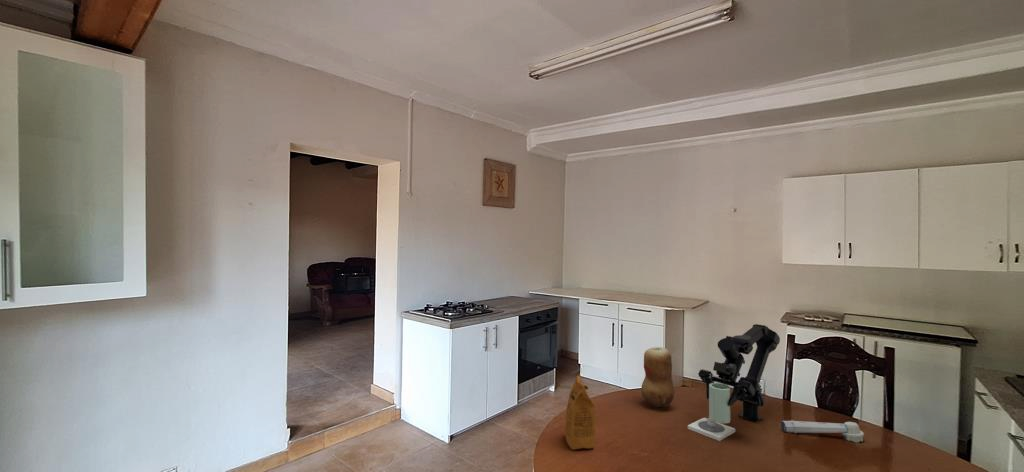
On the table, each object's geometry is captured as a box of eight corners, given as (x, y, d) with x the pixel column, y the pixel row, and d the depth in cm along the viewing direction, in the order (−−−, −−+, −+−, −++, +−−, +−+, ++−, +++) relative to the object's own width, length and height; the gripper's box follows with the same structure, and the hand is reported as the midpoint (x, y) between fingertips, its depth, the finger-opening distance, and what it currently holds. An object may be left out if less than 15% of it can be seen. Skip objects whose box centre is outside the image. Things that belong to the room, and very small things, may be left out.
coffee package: (590, 434, 150) (591, 374, 151) (597, 451, 138) (598, 386, 138) (563, 433, 150) (564, 373, 151) (567, 451, 138) (568, 385, 138)
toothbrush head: (779, 418, 158) (857, 417, 150) (782, 435, 157) (860, 436, 150) (784, 423, 153) (864, 423, 145) (787, 442, 152) (867, 442, 145)
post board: (703, 420, 163) (703, 408, 163) (735, 431, 154) (735, 418, 154) (687, 428, 156) (687, 415, 156) (719, 441, 146) (719, 427, 146)
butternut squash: (635, 401, 182) (636, 344, 182) (662, 398, 185) (662, 343, 186) (653, 414, 169) (653, 353, 169) (682, 411, 172) (682, 351, 172)
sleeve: (720, 414, 155) (720, 382, 155) (734, 422, 148) (734, 388, 148) (705, 416, 153) (705, 383, 153) (718, 424, 147) (718, 390, 147)
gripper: (700, 348, 161) (685, 382, 154) (751, 359, 146) (737, 398, 139) (710, 364, 165) (696, 398, 159) (761, 377, 151) (747, 415, 144)
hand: (717, 402), depth 150 cm, fingers closed on sleeve, 7 cm apart
